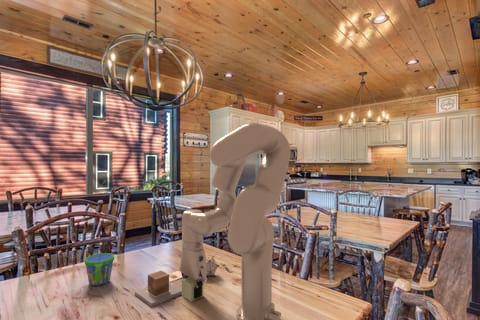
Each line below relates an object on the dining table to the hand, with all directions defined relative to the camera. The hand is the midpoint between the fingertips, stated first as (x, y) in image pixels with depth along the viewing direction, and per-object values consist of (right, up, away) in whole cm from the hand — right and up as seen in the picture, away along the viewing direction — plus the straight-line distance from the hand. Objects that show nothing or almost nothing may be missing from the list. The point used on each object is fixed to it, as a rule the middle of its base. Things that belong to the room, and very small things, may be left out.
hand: (192, 293), depth 99 cm
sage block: (0, -1, 0) cm, 1 cm away
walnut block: (-13, +1, +1) cm, 13 cm away
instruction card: (-11, -1, +16) cm, 19 cm away
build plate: (-13, -1, +1) cm, 13 cm away
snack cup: (-39, -1, +11) cm, 41 cm away
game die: (+4, -1, +17) cm, 18 cm away
